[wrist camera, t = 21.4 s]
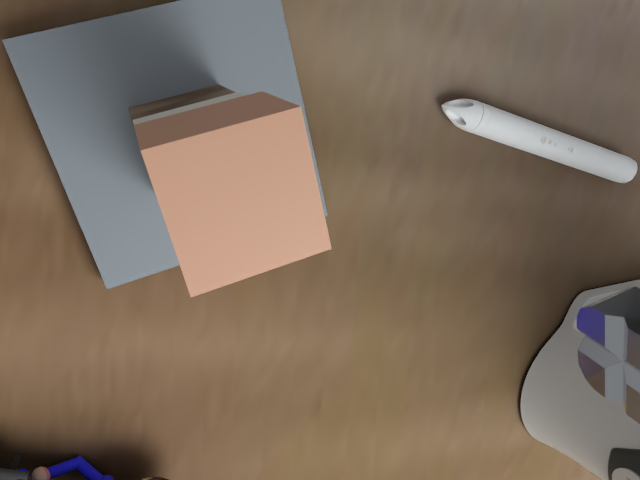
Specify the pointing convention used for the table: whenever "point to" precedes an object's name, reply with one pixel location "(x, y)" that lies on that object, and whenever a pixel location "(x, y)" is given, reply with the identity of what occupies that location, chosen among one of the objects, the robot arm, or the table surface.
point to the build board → (136, 89)
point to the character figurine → (56, 471)
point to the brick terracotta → (235, 188)
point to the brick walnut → (177, 101)
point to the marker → (539, 139)
